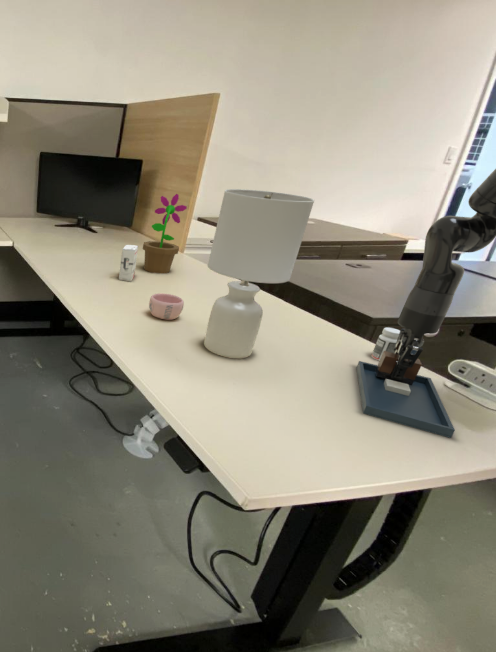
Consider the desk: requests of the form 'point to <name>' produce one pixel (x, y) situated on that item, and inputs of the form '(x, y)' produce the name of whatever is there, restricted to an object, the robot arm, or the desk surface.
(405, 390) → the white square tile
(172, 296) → the pink bowl
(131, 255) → the ink box
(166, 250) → the flowerpot
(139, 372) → the desk surface
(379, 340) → the pill bottle
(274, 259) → the lamp
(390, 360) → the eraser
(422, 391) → the tray
